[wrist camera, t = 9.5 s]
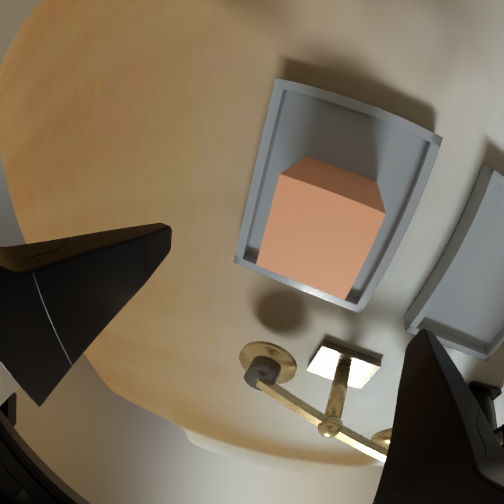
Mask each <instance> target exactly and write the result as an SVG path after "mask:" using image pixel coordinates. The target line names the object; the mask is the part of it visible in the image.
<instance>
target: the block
mask: <svg viewBox="0 0 504 504" xmlns="http://www.w3.org/2000/svg"><path fill="white" fill-rule="evenodd" d="M385 215H386V212H385V208H384V205H383V201H382V197H381V194H380V190H379V187H378V184H377V182H376V181H374V180H371V179H369V178H366V177H364V176H361V175H359V174H356V173H354V172H351V171H348V170H346V169H343V168H340V167H337V166H335V165H332V164H329V163H326V162H323V161H320V160H317V159H315V158H312V157H308V156H306V157H304V158H303V159H301V160H300V161H298V162H297V163H295V164H294V165H292V166H291V167H289V168H288V169H286V170H285V171H283V172H282V173H280V174H279V178H278V182H277V186H276V190H275V194H274V198H273V201H272V205H271V209H270V213H269V217H268V221H267V224H266V228H265V232H264V236H263V240H262V244H261V247H260V251H259V255H258V259H257V263H256V265H258V266H260V267H263V268H265V269H268V270H270V271H273V272H275V273H278V274H280V275H283V276H285V277H288V278H290V279H293V280H295V281H298V282H300V283H303V284H305V285H308V286H310V287H313V288H315V289H318V290H320V291H323V292H326V293H328V294H331V295H333V296H336V297H338V298H341V299H343V300H345V298H346V297H347V295H348V293H349V291H350V289H351V287H352V285H353V283H354V281H355V279H356V277H357V275H358V273H359V271H360V269H361V267H362V265H363V263H364V261H365V259H366V257H367V255H368V253H369V251H370V249H371V247H372V244H373V242H374V240H375V238H376V236H377V233H378V231H379V229H380V227H381V224H382V222H383V220H384V217H385Z"/></svg>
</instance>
